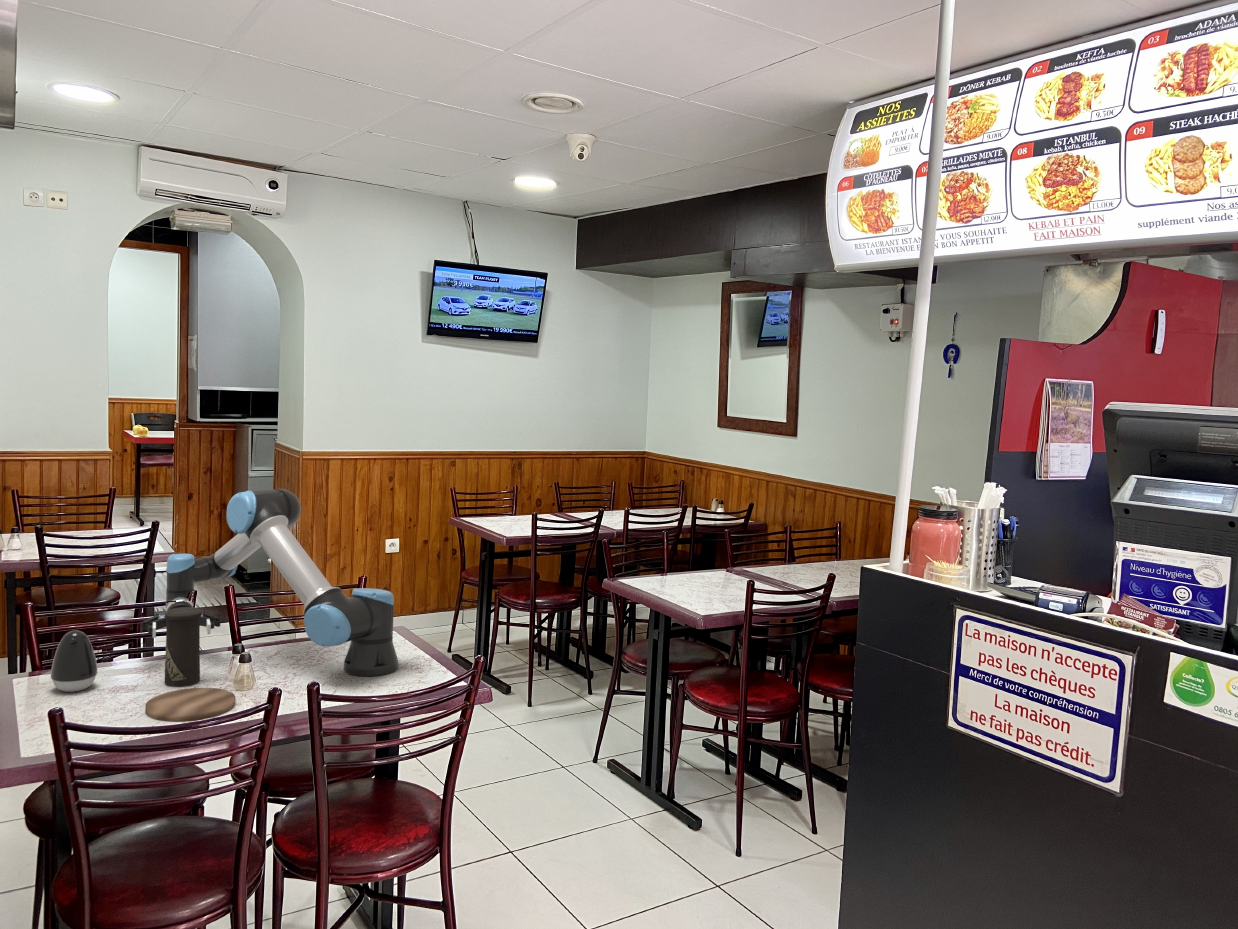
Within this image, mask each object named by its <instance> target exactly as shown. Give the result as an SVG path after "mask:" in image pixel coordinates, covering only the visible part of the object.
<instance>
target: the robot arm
mask: <svg viewBox="0 0 1238 929" xmlns="http://www.w3.org/2000/svg"><path fill="white" fill-rule="evenodd" d="M301 514H302V505H301V501H300V499H299V497H298V496H297V495H296V494H294V492H292V491H290V490H288V489H285V488H272V489H261V490H246V491H241V492H238V493H236V494H234V495H233V496H232V497H231V498H230V500H229V502H228V504H227V507H226V523H227V525H228V527H229V529H230V530H231V531H232V532H233V533H235V534H236V535H235V536H233V537H232V538H231V539H230V540H229V541H227V542H226V543H225V544H224V545H222V547H220V548H218V550H216V551H215V552H214V553H212V554H211V555H209V556H205V557H197V558H195V556H194V555H193V554H191V553H174V554H171V555H169V556H168V558H167V561H166V569H165V571H166V596H165V610H166V611H165V613H166V612H167V611H168V610H170V609H173V608H179V607H193V606H194V601H193V602H191V600H190V601H189V598H190V596H191V597H193V598H194V594H195V593H194V592H191V591H194V590H195V584H197V583H203V582H210V581H215V580H221V579H222V580H223V579H226V578H229V577H232V576H234V575H235V574H236V571H237V570H238V565H240V564H241V563H242V562H244V561H245V560H247V558H249V557H250V556H252V555H253V553H255V552H256V551H258V550H259V549H260V548H262V549H263V551H264V552H265V553H266V554H267V556H268V557H269V559H270V560H271V561H272V562H273V564H274V565H275V567H276V568H277V569H278V571H279V572H280V574H281V575H282V576H283V578H284V579H285V580H286V582H287V584H288V585H289V586H290V587H291V589H292V590H293V592H294V593H295V594H296V596H297V597H298V598H299V600H300V601H301V602H302V604H303V605H304V608H303V611H302V612H303V615H304V618H303V625H305V627H304V630H305V631H304V632H305V633H306V635H307V637H308V638H309V639H310V640H311V641H312V642H313V643H314V644H315V645H318V646H320V647H326V648H327V647H333V646H335V647H336V646H340V645H343V644H345V643H348V642H350V644H349V646H348V650H347V652H346V655H345V658H344V660H343V671H344V672H345V673H347V674H350V675H352V676H358V677H359V676H360V677H377V676H385V675H389V674H392V673H394V672H396V671H397V670H398V669H399V658H398V656H397V652H396V649H395V645H394V642H393V641H394V640H393V637H394V636H393V634H394V618H395V617H394V613H395V604H394V602H395V599H394V594H393V593H392V592H391V591H389V590H385V589H380V588H368V587H367V588H366V587H365V588H363V587H362V588H361V587H360V588H354V589H353V590H352V593H351V596H350V597H347V595H346V594H345V593H344V592H343V591H344V590H342V589H341V588H340V587H339V586H332V585H331V583H330V582H329V581H328V579H327V578H326V577H325V576H324V574H323V573H322V571H321V570H320V569H319V568H318V566H317V565H316V563H315V562H314V561H313V560H312V559H311V557H310V555H309V554H308V553H307V551H306V550H305V549H304V548H303V546H302V545H301V543H300V542H299V541H298V539H296V537H295V536H294V534H293V533H292V531H291V530H290V529H291V528H292V527H294V525H295V524H296V523H297V522H298V521H299V519H300V517H301ZM189 592H190V594H189V597H188V598H187V596H188V593H189ZM191 594H193V595H191ZM167 601H176V602H168V603H166V602H167ZM221 620H222V619H221V617H220V616H217V615H214V614H211V613H208V612H207V611H202V615H201V617H200V627H205V628H206V634H207V635H211V630H213V629H214V630H215V627H217V628H220V627H221ZM164 628H167V619H166V618H165V616H161V615H160V614H158V613H156V614H154V615H153V616H151V617H149V618H147V619H145V620H143V621H141V622H140V632H145V631H147V634H148V635H152V639H156V634H157V630H160V629H164Z"/></svg>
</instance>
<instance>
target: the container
mask: <svg viewBox="0 0 1238 929" xmlns="http://www.w3.org/2000/svg"><path fill="white" fill-rule="evenodd" d="M202 612H203V610H201V609H200V608H198V607H195V606H194V607H179V608H173V609H170V610H168V611H167V612H166V611H165V613H164V617H165V618H166V619H167V627H165V628H166V630H165V631H166V632H165V636H166V637H165V658H164V659H165V660H164V661H165V663H164V684H165V685H166V686H169V687H174V688H175V687H176V688H177V687H179V688H180V687H188V686H192V685H193V686H194V685H195V684H198V683H199V682H200V680H201V659H200V658H201V654H200V648H201V647H200V645H201V644H200V636H201V635H200V631H201V630H200V627H201V626H200V617H201V615H202Z"/></svg>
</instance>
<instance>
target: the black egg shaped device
mask: <svg viewBox="0 0 1238 929" xmlns="http://www.w3.org/2000/svg"><path fill="white" fill-rule="evenodd" d="M97 674H98V664H97V658H96V655H95V651H94V648H93V645H92V643H91V641H90V638H89V637H88V636H87V634H86V633H85V632H83V631H81V630H77V629H76V630H70V631H68V632H66V633H65V634H64V635H63V637H62V638H61V640H60V642H59V643H58V646H57V647H56V651H55V654H54V656H53V661H52V665H51V670H50V679H51V680H52V682H53V685H54V686H55V687H56V689H57V690H59V691H61V692H63V693H64V692H65V693H76V692H75V691H77V692H80V690H81V691H84V690H86V689H87V688H89V687H90V686H92V684H93V683H94V681H95V679H96V677H97Z"/></svg>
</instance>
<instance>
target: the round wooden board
mask: <svg viewBox="0 0 1238 929" xmlns="http://www.w3.org/2000/svg"><path fill="white" fill-rule="evenodd" d="M235 706H236V694H234V693H233V692H232V691H230V690H227V689H223V688H215V687H192V688H183V689H182V688H181V689H176V690H172V691H171V690H170V691H167V692H163V693H161V694H158V695H156V696H154V697H152V698H150V699H148V700H147V701H146V703H145V709H144V710H145V712H144V713H145V715H146V716H147V717H149V718H150V719H151V718H152V719H153V720H157V721H164V722H191V721H192V722H193V721H199V720H205V719H210V718H213V717H217V716H221V715H223V714H224V713H227V712H229V711H231V710H232V709H233V708H234V707H235Z"/></svg>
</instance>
